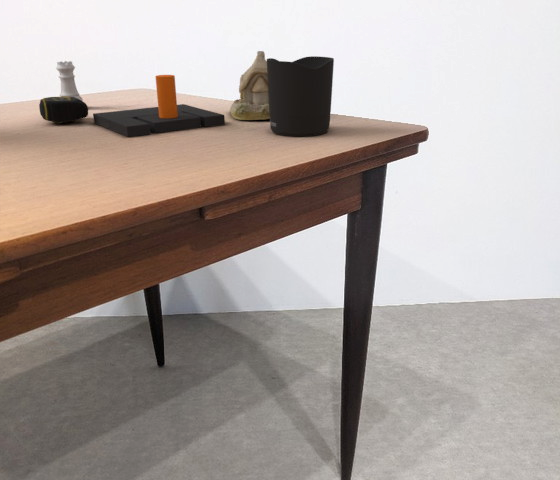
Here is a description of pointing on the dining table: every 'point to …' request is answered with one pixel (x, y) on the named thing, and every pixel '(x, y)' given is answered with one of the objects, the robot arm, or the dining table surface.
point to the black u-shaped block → (129, 124)
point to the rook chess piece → (67, 80)
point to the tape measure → (62, 109)
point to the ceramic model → (253, 92)
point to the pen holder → (300, 95)
